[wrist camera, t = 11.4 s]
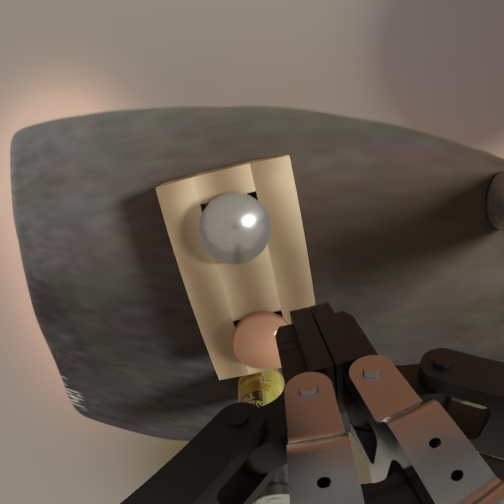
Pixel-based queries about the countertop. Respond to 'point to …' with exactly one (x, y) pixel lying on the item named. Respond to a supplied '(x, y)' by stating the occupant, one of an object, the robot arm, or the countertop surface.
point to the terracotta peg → (258, 339)
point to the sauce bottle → (261, 393)
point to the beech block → (246, 274)
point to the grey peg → (234, 228)
